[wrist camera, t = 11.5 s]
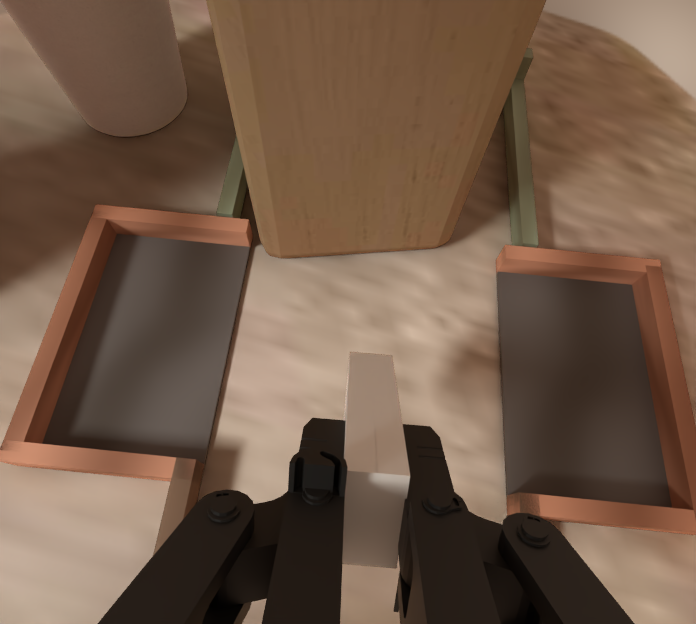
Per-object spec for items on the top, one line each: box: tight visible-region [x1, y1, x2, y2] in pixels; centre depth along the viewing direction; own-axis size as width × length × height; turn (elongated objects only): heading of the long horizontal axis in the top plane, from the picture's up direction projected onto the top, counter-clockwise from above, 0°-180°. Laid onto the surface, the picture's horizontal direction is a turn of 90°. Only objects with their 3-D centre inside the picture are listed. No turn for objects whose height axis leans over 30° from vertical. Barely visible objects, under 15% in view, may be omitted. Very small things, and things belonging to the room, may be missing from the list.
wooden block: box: [206, 0, 546, 258], centre depth 19 cm, size 10×10×20 cm
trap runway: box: [0, 48, 696, 556], centre depth 22 cm, size 29×37×3 cm
